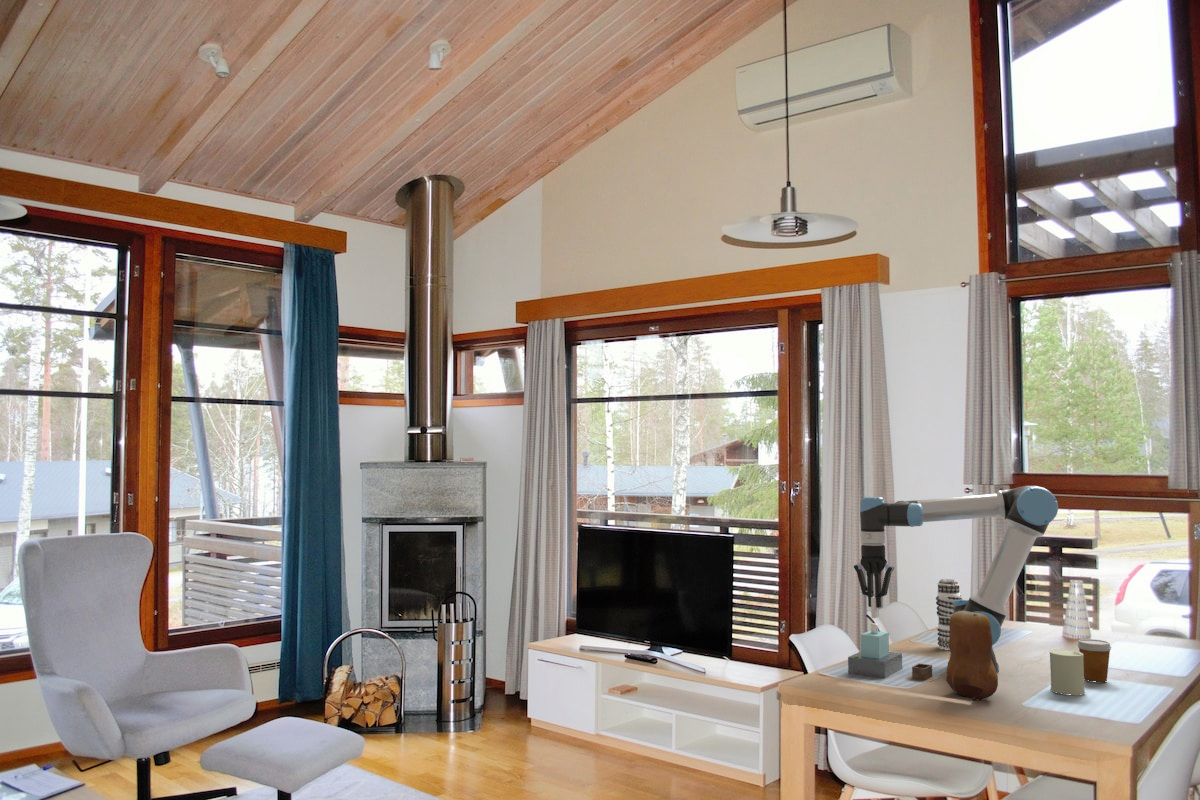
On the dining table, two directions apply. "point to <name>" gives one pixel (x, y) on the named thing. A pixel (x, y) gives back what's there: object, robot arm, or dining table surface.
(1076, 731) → the dining table surface
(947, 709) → the dining table surface
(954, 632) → the butternut squash
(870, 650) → the teal and white block
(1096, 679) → the disposable coffee cup
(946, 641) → the decorative candle
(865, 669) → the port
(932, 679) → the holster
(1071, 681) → the can
